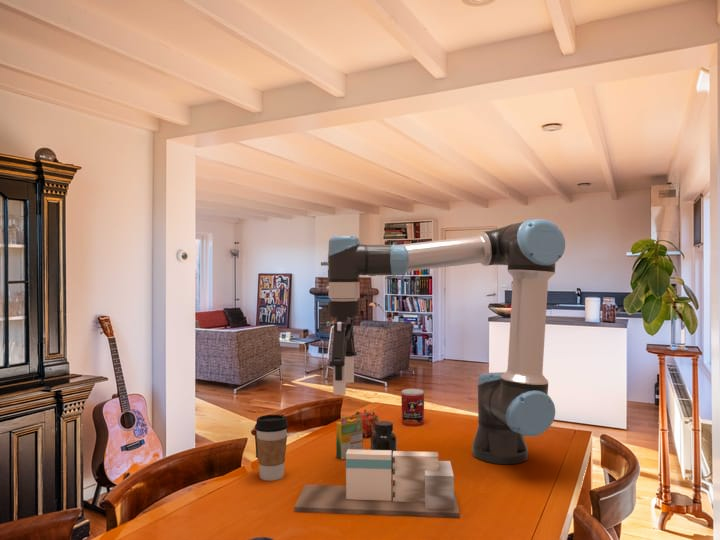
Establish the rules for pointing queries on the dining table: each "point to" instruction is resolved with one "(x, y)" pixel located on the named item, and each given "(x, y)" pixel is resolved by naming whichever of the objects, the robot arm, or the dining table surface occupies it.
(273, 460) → the coffee cup
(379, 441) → the supplement bottle
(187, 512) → the dining table surface
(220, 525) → the dining table surface
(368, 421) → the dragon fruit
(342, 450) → the crayon box
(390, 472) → the blue-striped white box
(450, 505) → the stepped block stand
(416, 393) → the canned food
